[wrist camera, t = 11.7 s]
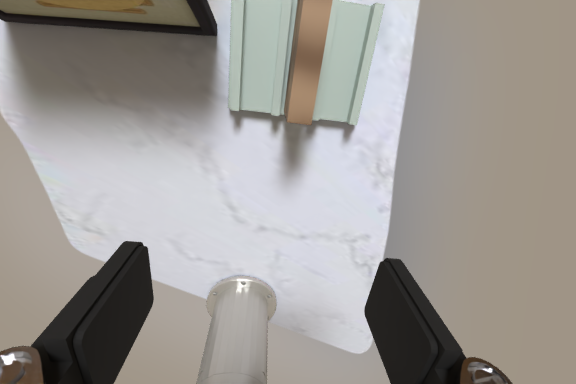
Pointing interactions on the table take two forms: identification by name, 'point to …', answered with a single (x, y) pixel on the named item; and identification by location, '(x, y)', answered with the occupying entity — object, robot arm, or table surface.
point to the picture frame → (116, 14)
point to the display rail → (277, 51)
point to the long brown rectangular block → (306, 59)
